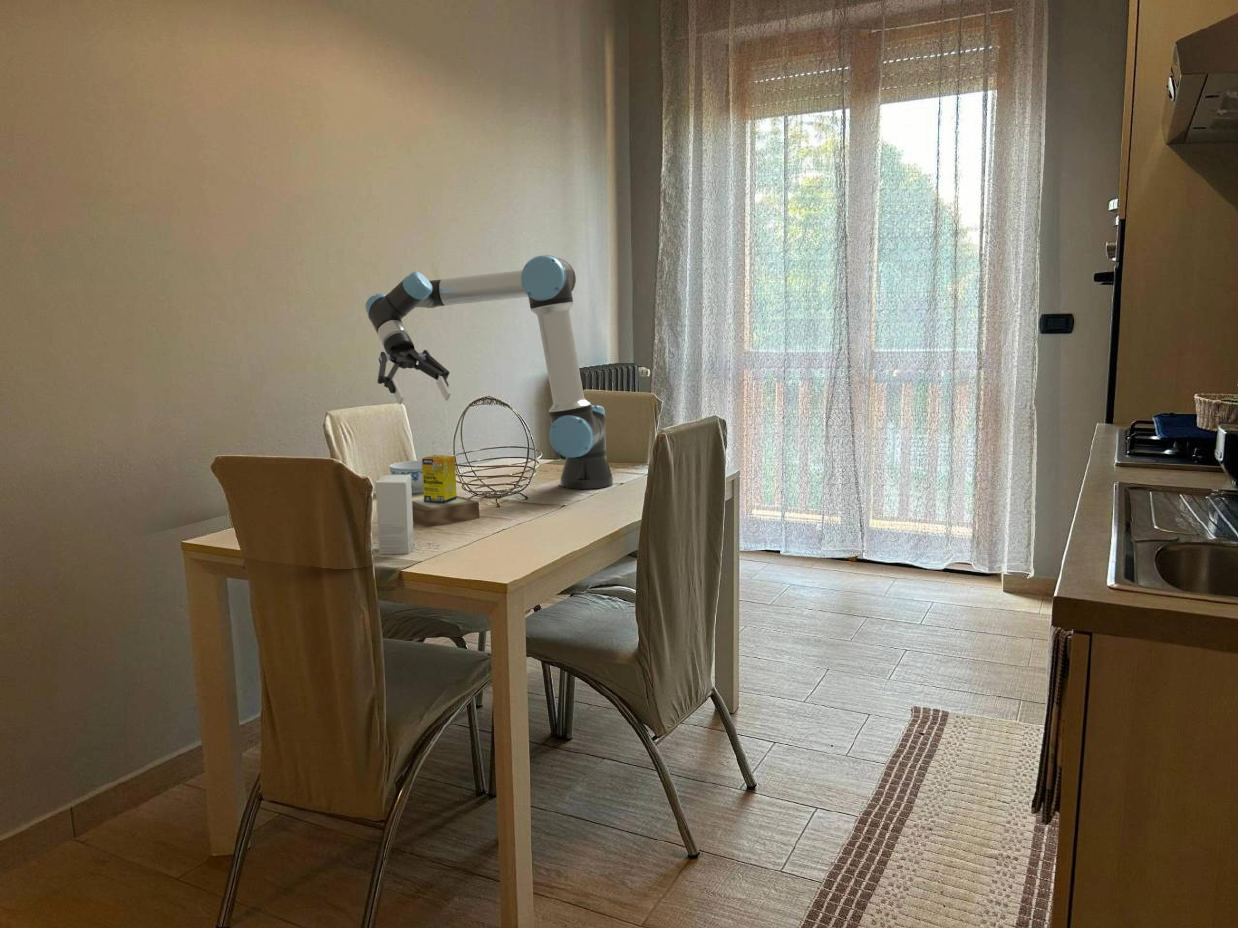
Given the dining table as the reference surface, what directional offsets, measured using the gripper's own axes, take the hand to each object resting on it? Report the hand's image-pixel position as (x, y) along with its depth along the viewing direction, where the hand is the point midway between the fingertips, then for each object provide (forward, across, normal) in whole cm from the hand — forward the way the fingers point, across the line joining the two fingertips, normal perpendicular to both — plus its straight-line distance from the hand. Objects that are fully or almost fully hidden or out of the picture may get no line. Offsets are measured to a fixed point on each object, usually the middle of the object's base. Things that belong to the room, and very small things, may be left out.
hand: (425, 399), depth 242 cm
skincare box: (+50, +30, +10) cm, 59 cm away
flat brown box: (+34, +8, -5) cm, 35 cm away
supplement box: (+31, +8, -2) cm, 32 cm away
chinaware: (+7, -5, -32) cm, 33 cm away
